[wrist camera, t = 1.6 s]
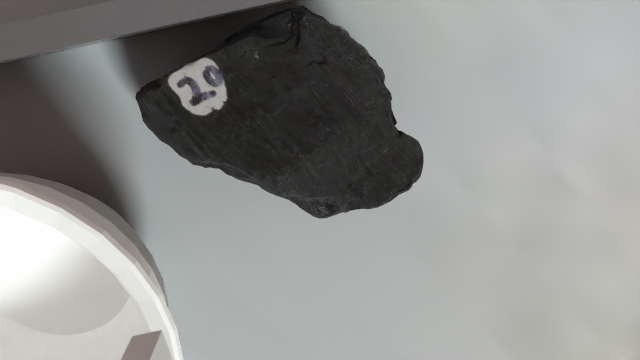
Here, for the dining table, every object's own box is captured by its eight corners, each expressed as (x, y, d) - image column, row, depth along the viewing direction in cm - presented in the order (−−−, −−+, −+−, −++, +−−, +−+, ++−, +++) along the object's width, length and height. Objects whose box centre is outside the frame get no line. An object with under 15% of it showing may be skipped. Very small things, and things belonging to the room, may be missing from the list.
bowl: (-23, 50, 23) (-192, 71, 15) (268, 223, 27) (262, 316, 18) (-146, 304, 26) (-336, 432, 18) (126, 425, 30) (68, 575, 22)
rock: (474, 136, 22) (382, -11, 15) (384, 284, 22) (240, 211, 14) (316, 77, 29) (196, -45, 21) (245, 188, 29) (97, 104, 21)
